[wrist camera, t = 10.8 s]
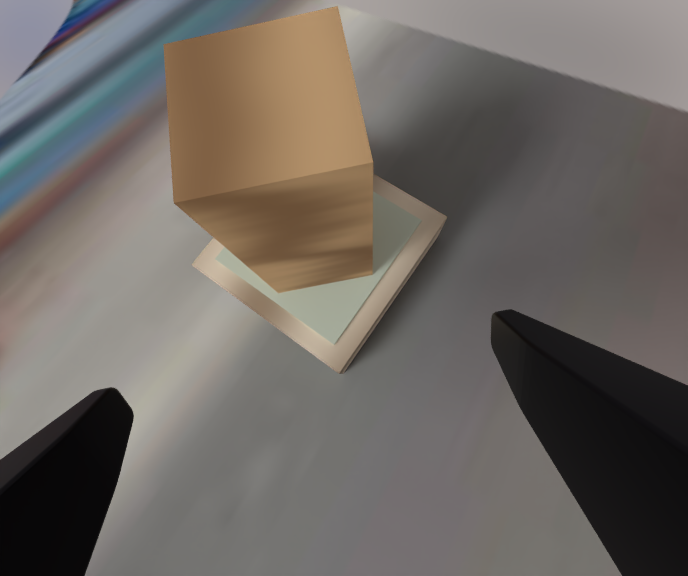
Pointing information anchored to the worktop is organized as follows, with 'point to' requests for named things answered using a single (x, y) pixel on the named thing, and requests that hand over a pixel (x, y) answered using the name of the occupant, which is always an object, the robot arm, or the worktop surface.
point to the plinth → (344, 296)
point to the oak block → (274, 148)
